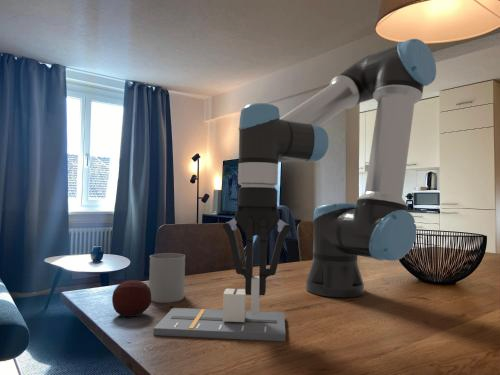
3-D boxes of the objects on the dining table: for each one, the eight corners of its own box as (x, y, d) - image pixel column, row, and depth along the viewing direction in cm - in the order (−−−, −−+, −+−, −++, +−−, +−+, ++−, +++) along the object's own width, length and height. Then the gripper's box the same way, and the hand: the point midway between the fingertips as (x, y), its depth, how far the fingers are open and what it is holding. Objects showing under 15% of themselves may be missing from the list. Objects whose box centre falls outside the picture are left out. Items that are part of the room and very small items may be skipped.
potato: (117, 309, 78) (118, 276, 78) (154, 309, 79) (155, 276, 79) (106, 321, 71) (107, 284, 71) (147, 321, 71) (148, 284, 72)
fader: (246, 315, 71) (246, 288, 71) (244, 322, 67) (244, 293, 67) (225, 314, 71) (226, 287, 72) (222, 321, 67) (223, 292, 68)
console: (284, 318, 75) (284, 312, 75) (285, 341, 63) (285, 333, 63) (172, 313, 76) (173, 307, 76) (153, 335, 64) (153, 327, 64)
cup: (175, 303, 84) (176, 259, 84) (142, 300, 85) (143, 257, 86) (189, 294, 92) (189, 254, 92) (158, 292, 93) (159, 252, 94)
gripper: (291, 188, 73) (289, 307, 72) (226, 186, 74) (223, 305, 73) (293, 186, 66) (290, 320, 65) (220, 185, 66) (217, 317, 66)
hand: (255, 312), depth 69 cm, fingers closed
